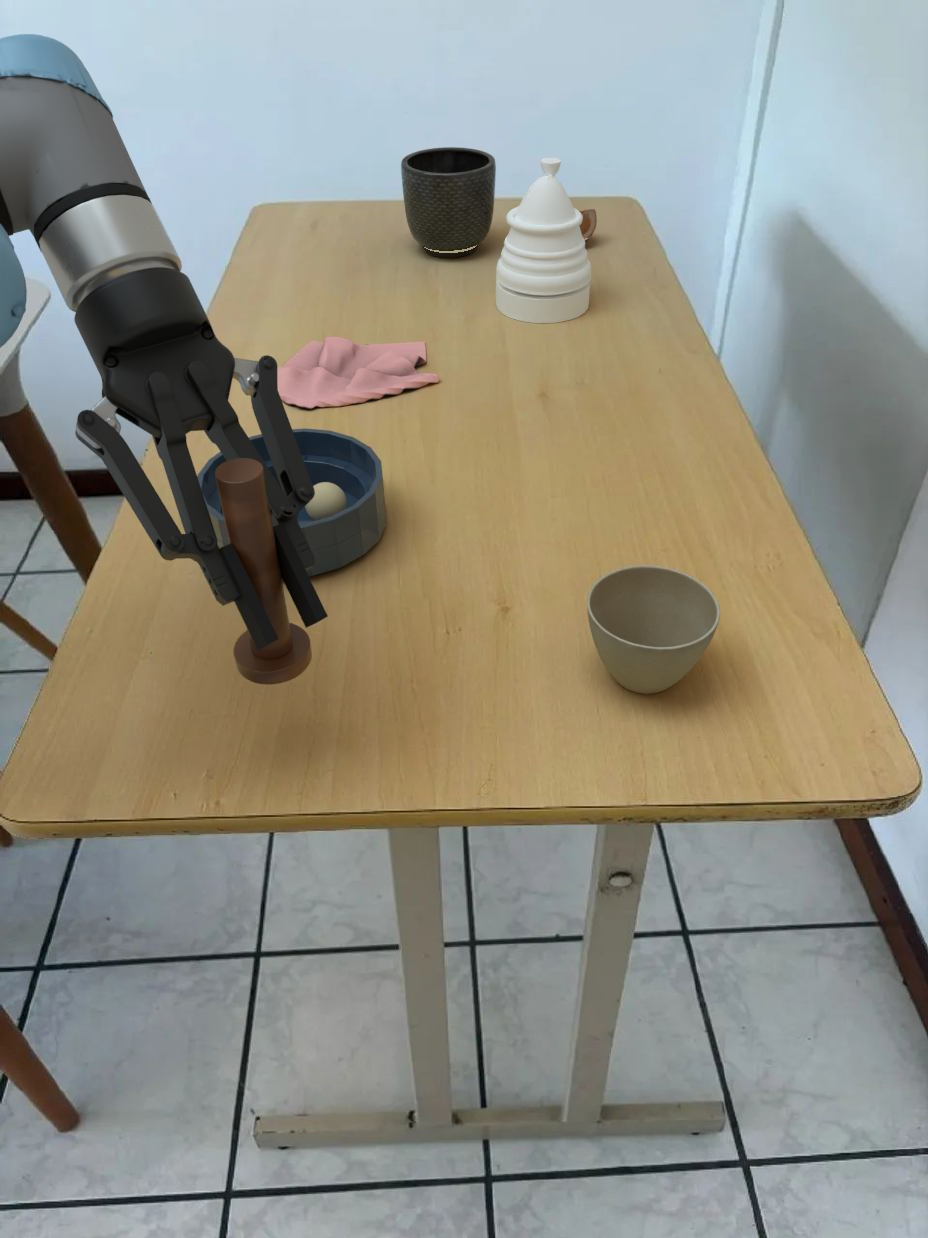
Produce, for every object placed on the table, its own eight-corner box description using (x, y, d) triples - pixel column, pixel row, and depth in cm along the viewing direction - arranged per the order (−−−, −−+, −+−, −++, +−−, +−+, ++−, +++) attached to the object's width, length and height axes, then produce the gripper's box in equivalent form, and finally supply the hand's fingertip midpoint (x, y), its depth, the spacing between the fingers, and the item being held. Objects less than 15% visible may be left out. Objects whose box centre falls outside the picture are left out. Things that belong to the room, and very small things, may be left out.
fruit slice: (548, 254, 146) (549, 220, 143) (535, 238, 151) (536, 206, 148) (600, 248, 148) (602, 215, 145) (586, 233, 153) (588, 201, 149)
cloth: (236, 392, 114) (232, 373, 113) (339, 323, 129) (337, 305, 127) (381, 431, 107) (379, 412, 105) (473, 353, 121) (473, 335, 120)
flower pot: (732, 682, 76) (749, 614, 72) (638, 736, 72) (649, 667, 67) (647, 615, 82) (656, 548, 78) (555, 661, 78) (560, 594, 74)
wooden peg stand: (233, 688, 64) (189, 497, 54) (238, 636, 68) (198, 450, 58) (312, 681, 64) (282, 490, 55) (312, 630, 68) (284, 444, 58)
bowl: (200, 591, 86) (186, 536, 82) (215, 486, 99) (203, 435, 95) (391, 574, 87) (387, 520, 83) (381, 473, 100) (377, 422, 96)
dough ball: (307, 534, 91) (302, 499, 89) (307, 510, 94) (302, 475, 92) (349, 530, 92) (345, 495, 89) (348, 507, 95) (344, 472, 92)
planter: (493, 266, 143) (494, 174, 135) (400, 265, 144) (395, 174, 135) (496, 233, 154) (497, 146, 145) (410, 232, 154) (405, 146, 146)
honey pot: (508, 281, 138) (509, 147, 127) (596, 289, 136) (606, 153, 124) (485, 317, 129) (485, 176, 117) (579, 327, 126) (589, 184, 115)
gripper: (232, 291, 67) (378, 596, 67) (0, 353, 60) (166, 693, 60) (256, 234, 60) (418, 573, 61) (-2, 296, 53) (185, 679, 54)
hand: (292, 632), depth 60 cm, fingers closed on wooden peg stand, 3 cm apart
